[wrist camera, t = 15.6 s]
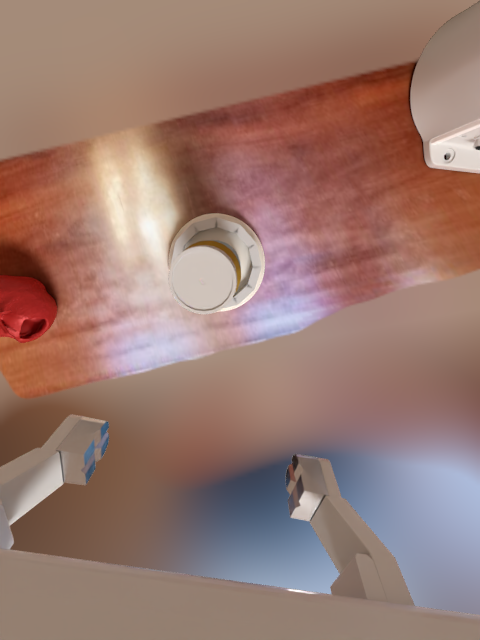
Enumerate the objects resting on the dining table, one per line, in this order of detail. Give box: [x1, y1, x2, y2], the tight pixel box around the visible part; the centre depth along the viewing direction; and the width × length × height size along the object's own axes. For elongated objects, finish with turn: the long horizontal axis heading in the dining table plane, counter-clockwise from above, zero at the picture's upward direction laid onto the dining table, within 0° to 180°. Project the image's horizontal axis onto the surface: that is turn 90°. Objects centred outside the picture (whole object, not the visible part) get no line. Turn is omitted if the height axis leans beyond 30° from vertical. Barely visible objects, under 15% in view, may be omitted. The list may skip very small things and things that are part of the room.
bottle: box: [168, 240, 241, 314], centre depth 30 cm, size 7×7×15 cm
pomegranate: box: [0, 275, 57, 343], centre depth 35 cm, size 10×10×9 cm
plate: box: [169, 213, 265, 311], centre depth 37 cm, size 14×14×2 cm
